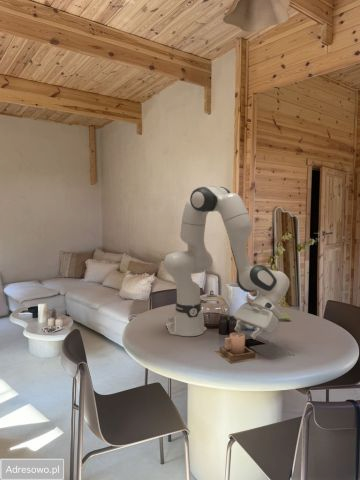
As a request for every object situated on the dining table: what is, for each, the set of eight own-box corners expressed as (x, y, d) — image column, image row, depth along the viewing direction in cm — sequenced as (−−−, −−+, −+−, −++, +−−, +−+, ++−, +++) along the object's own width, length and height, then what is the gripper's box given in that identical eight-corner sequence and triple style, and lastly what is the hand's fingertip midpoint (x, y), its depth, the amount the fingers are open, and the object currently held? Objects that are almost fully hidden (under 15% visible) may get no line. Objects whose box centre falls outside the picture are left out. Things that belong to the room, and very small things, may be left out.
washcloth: (292, 322, 193) (292, 316, 192) (259, 322, 192) (259, 316, 192) (284, 315, 206) (285, 309, 205) (253, 315, 205) (253, 310, 205)
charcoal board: (248, 350, 152) (248, 346, 152) (272, 346, 156) (272, 343, 156) (268, 363, 139) (268, 359, 138) (294, 358, 143) (294, 354, 143)
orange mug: (222, 353, 144) (222, 333, 143) (239, 351, 146) (240, 331, 146) (228, 359, 138) (229, 338, 138) (247, 356, 141) (247, 336, 140)
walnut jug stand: (214, 355, 146) (214, 346, 146) (242, 350, 151) (242, 342, 151) (230, 367, 134) (230, 358, 134) (260, 362, 139) (260, 353, 139)
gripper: (242, 296, 156) (223, 322, 151) (277, 307, 138) (256, 336, 134) (250, 305, 158) (231, 331, 154) (285, 317, 140) (265, 346, 136)
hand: (243, 334), depth 144 cm, fingers open, 8 cm apart
